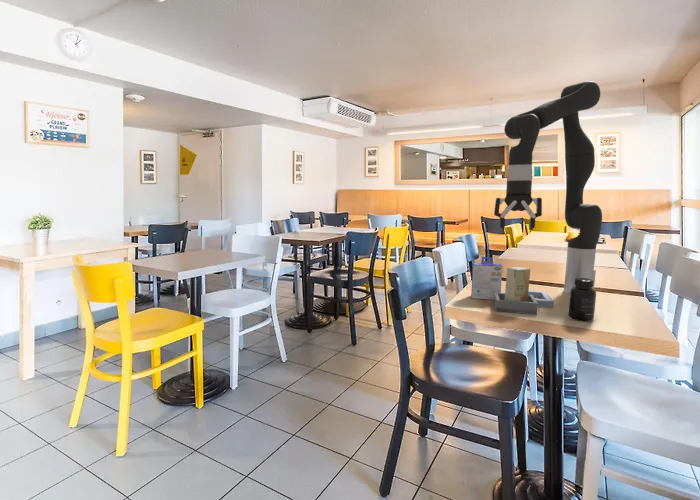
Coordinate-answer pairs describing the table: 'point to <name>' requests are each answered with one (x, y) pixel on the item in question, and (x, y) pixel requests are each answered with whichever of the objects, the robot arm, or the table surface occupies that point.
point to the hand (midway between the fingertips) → (516, 229)
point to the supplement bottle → (582, 300)
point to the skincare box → (517, 284)
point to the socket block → (542, 298)
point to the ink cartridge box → (486, 279)
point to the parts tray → (515, 304)
